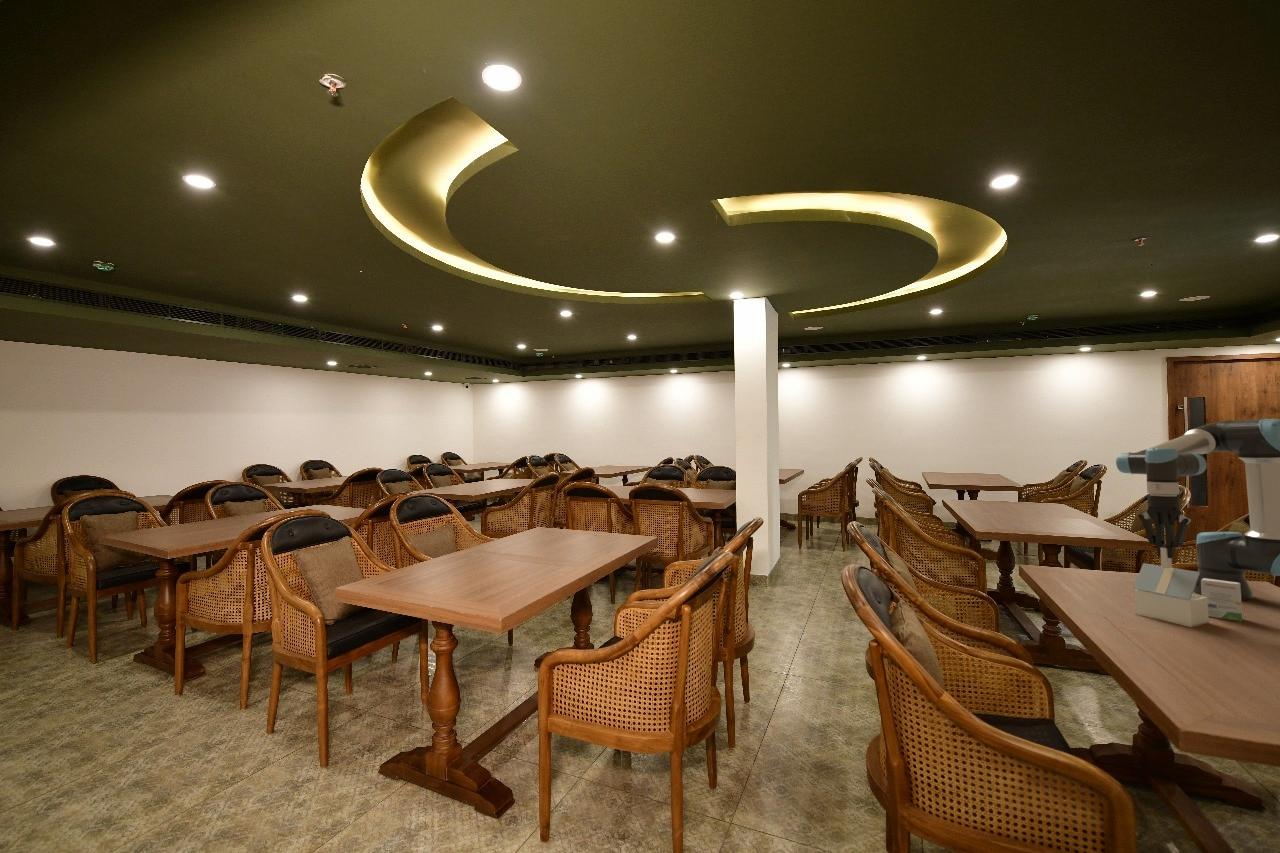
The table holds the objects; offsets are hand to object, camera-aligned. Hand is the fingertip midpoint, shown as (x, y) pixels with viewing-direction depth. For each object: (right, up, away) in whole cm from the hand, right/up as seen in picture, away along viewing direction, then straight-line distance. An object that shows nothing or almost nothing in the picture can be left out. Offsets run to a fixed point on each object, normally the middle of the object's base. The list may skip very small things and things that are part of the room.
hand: (1166, 567), depth 172 cm
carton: (+1, -17, 0) cm, 17 cm away
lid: (-1, -4, 0) cm, 4 cm away
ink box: (+18, -17, 0) cm, 25 cm away
